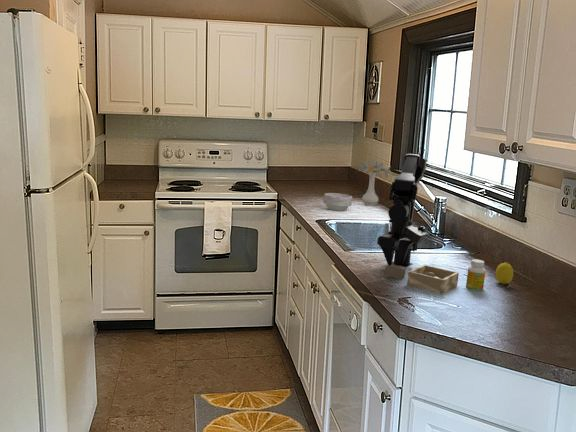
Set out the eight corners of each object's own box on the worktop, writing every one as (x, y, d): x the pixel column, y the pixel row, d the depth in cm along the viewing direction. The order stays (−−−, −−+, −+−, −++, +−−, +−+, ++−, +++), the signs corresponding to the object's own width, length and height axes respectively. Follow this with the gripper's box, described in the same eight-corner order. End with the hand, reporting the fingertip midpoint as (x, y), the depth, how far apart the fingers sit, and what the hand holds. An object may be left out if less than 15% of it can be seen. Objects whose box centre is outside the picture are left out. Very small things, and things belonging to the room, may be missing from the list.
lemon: (497, 281, 203) (500, 259, 202) (513, 285, 200) (517, 262, 198) (491, 284, 199) (494, 261, 197) (508, 288, 196) (511, 265, 194)
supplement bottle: (471, 292, 189) (475, 263, 187) (462, 287, 194) (465, 258, 192) (486, 292, 190) (490, 263, 188) (476, 287, 195) (480, 258, 193)
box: (422, 278, 200) (424, 264, 199) (456, 287, 193) (458, 272, 192) (406, 286, 191) (408, 271, 190) (442, 295, 184) (443, 280, 183)
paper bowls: (356, 209, 320) (357, 195, 318) (343, 213, 307) (344, 198, 305) (331, 205, 328) (332, 191, 326) (317, 209, 315) (318, 194, 313)
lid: (386, 272, 208) (388, 259, 207) (419, 280, 200) (421, 267, 200) (369, 279, 198) (370, 265, 197) (402, 288, 191) (404, 274, 190)
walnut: (427, 279, 198) (428, 270, 197) (436, 282, 196) (437, 272, 195) (422, 281, 195) (423, 272, 194) (432, 284, 193) (433, 274, 192)
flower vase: (390, 207, 334) (394, 163, 329) (359, 206, 329) (363, 161, 324) (380, 203, 346) (384, 160, 341) (351, 202, 341) (354, 159, 336)
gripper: (410, 225, 183) (405, 273, 186) (435, 217, 197) (430, 263, 200) (378, 218, 189) (374, 265, 192) (405, 212, 204) (400, 256, 207)
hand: (396, 262), depth 198 cm, fingers open, 9 cm apart
